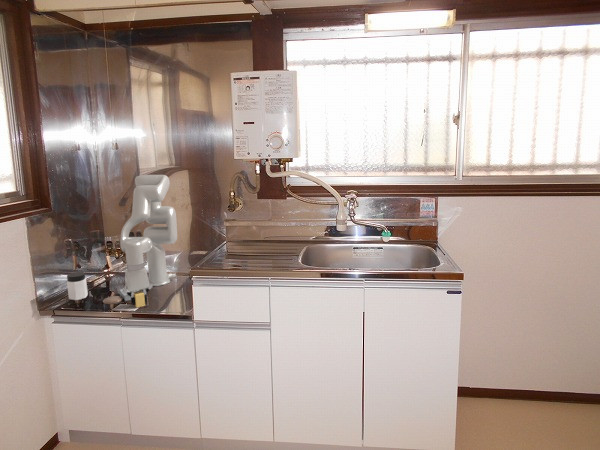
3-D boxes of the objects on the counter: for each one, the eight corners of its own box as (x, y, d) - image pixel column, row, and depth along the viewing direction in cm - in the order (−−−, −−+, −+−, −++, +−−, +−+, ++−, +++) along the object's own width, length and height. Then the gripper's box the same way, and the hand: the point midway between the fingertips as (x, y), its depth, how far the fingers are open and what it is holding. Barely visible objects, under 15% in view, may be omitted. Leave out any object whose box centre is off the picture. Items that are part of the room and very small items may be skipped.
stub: (142, 302, 217) (141, 290, 215) (145, 305, 213) (144, 293, 211) (133, 304, 214) (132, 292, 213) (136, 307, 210) (135, 295, 209)
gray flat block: (135, 290, 233) (135, 286, 233) (141, 297, 224) (141, 292, 223) (119, 294, 229) (119, 289, 228) (125, 301, 219) (124, 296, 219)
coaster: (120, 296, 226) (119, 294, 226) (124, 301, 219) (124, 300, 218) (101, 300, 221) (101, 298, 221) (105, 305, 214) (104, 304, 213)
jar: (91, 295, 228) (89, 272, 226) (79, 300, 220) (76, 277, 218) (77, 293, 231) (75, 271, 228) (65, 299, 223) (62, 276, 221)
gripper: (151, 261, 218) (154, 297, 222) (115, 268, 209) (118, 304, 212) (155, 265, 212) (158, 301, 216) (119, 272, 202) (122, 309, 206)
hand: (138, 302), depth 214 cm, fingers closed on stub, 4 cm apart
